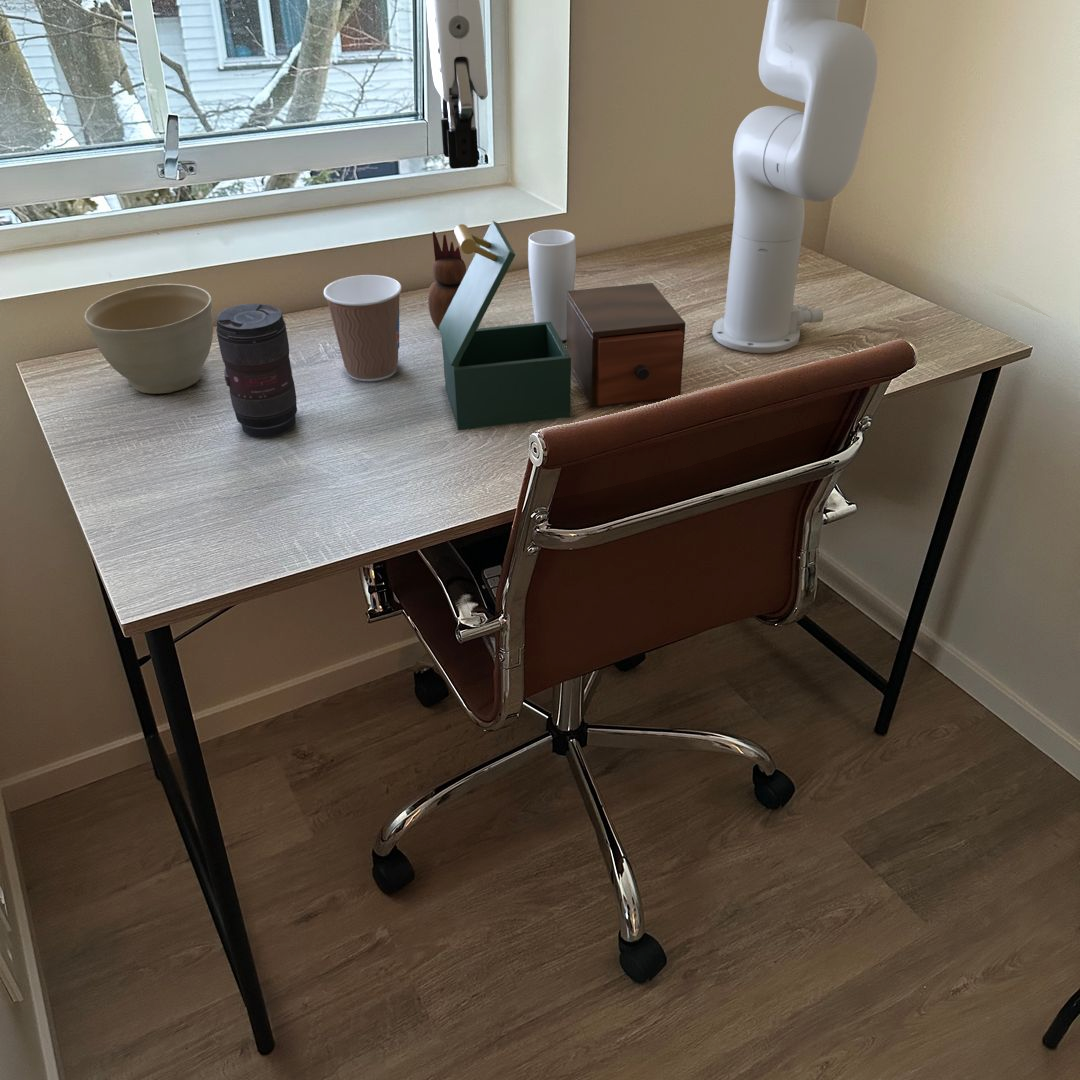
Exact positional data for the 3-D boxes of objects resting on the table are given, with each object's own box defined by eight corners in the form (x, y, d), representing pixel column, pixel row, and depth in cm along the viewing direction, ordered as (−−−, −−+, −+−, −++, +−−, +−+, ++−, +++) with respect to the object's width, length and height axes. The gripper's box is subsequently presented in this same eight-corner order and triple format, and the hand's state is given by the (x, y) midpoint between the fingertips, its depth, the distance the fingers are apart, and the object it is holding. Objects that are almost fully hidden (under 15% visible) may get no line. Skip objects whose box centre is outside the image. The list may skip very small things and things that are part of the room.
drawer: (682, 400, 132) (686, 337, 127) (600, 410, 130) (602, 346, 125) (649, 355, 143) (652, 295, 138) (574, 363, 142) (574, 302, 137)
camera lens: (270, 447, 125) (248, 334, 117) (223, 431, 129) (199, 319, 120) (315, 420, 131) (297, 310, 122) (269, 405, 134) (248, 297, 126)
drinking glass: (571, 348, 148) (571, 246, 139) (525, 344, 149) (523, 243, 140) (579, 329, 153) (580, 230, 144) (535, 326, 154) (533, 227, 146)
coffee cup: (423, 373, 142) (415, 290, 135) (357, 394, 137) (346, 309, 130) (385, 348, 148) (376, 268, 142) (321, 368, 143) (309, 286, 137)
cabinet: (680, 398, 135) (685, 322, 128) (591, 408, 133) (592, 332, 126) (648, 353, 146) (652, 282, 140) (566, 362, 144) (566, 290, 138)
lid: (498, 223, 126) (459, 204, 124) (515, 254, 117) (474, 234, 115) (443, 330, 133) (405, 313, 130) (456, 368, 123) (416, 351, 121)
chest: (551, 378, 140) (550, 321, 135) (570, 417, 131) (571, 357, 126) (445, 389, 138) (441, 332, 133) (458, 430, 128) (453, 370, 123)
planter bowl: (222, 348, 150) (207, 276, 143) (231, 395, 137) (214, 319, 131) (106, 364, 146) (85, 291, 139) (104, 415, 133) (81, 337, 127)
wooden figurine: (424, 334, 152) (415, 235, 144) (441, 320, 157) (434, 222, 148) (465, 341, 150) (459, 240, 142) (481, 326, 155) (476, 227, 146)
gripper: (500, -14, 99) (506, 179, 109) (473, -33, 112) (481, 140, 123) (423, -10, 98) (437, 184, 108) (405, -30, 111) (419, 145, 122)
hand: (460, 159), depth 115 cm, fingers open, 4 cm apart
